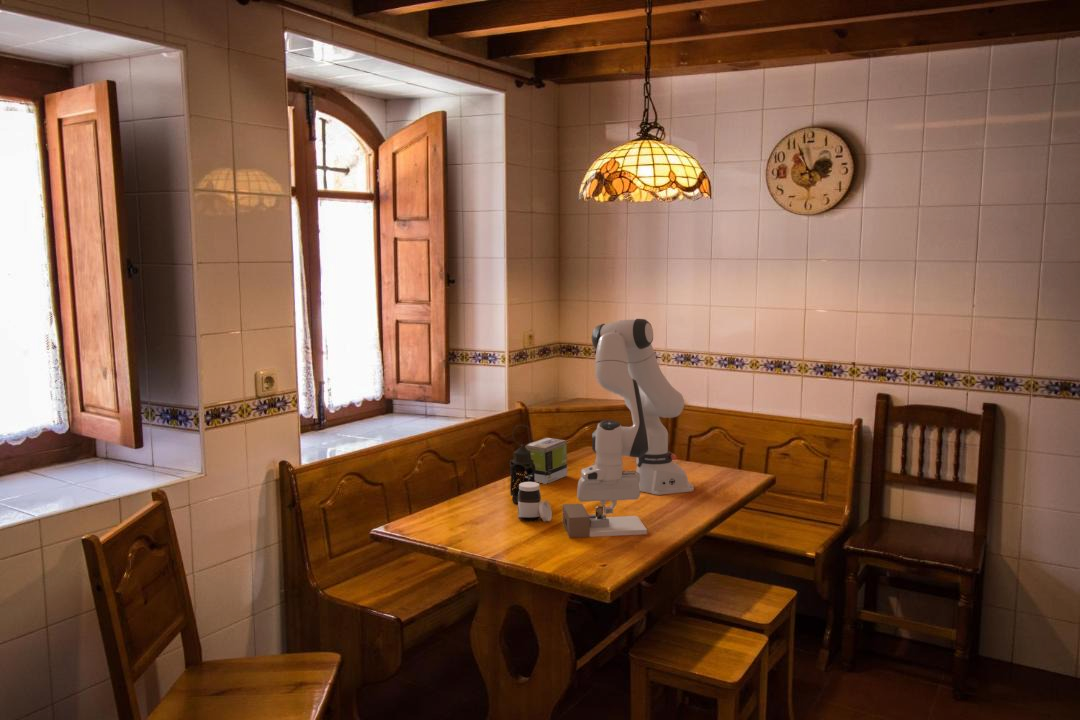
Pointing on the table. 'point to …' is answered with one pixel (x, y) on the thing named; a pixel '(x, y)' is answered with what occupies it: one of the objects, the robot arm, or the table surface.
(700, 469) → the table surface
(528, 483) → the spread jar
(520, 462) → the lantern
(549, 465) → the tea box
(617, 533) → the door plate
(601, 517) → the bolt
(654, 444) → the robot arm
